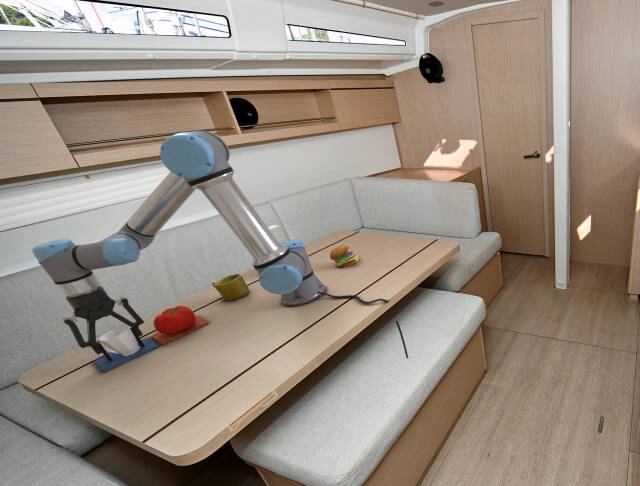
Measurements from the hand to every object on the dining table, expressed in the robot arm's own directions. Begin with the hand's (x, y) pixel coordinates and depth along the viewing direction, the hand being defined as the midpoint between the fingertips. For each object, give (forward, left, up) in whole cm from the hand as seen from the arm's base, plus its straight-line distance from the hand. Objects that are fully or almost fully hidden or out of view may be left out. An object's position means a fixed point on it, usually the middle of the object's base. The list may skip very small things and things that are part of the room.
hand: (126, 352), depth 113 cm
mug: (+10, -35, -1) cm, 36 cm away
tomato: (0, -14, 0) cm, 14 cm away
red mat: (0, -14, -1) cm, 14 cm away
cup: (0, 0, 0) cm, 0 cm away
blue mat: (0, 0, -1) cm, 1 cm away
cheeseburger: (-9, -75, -1) cm, 76 cm away
